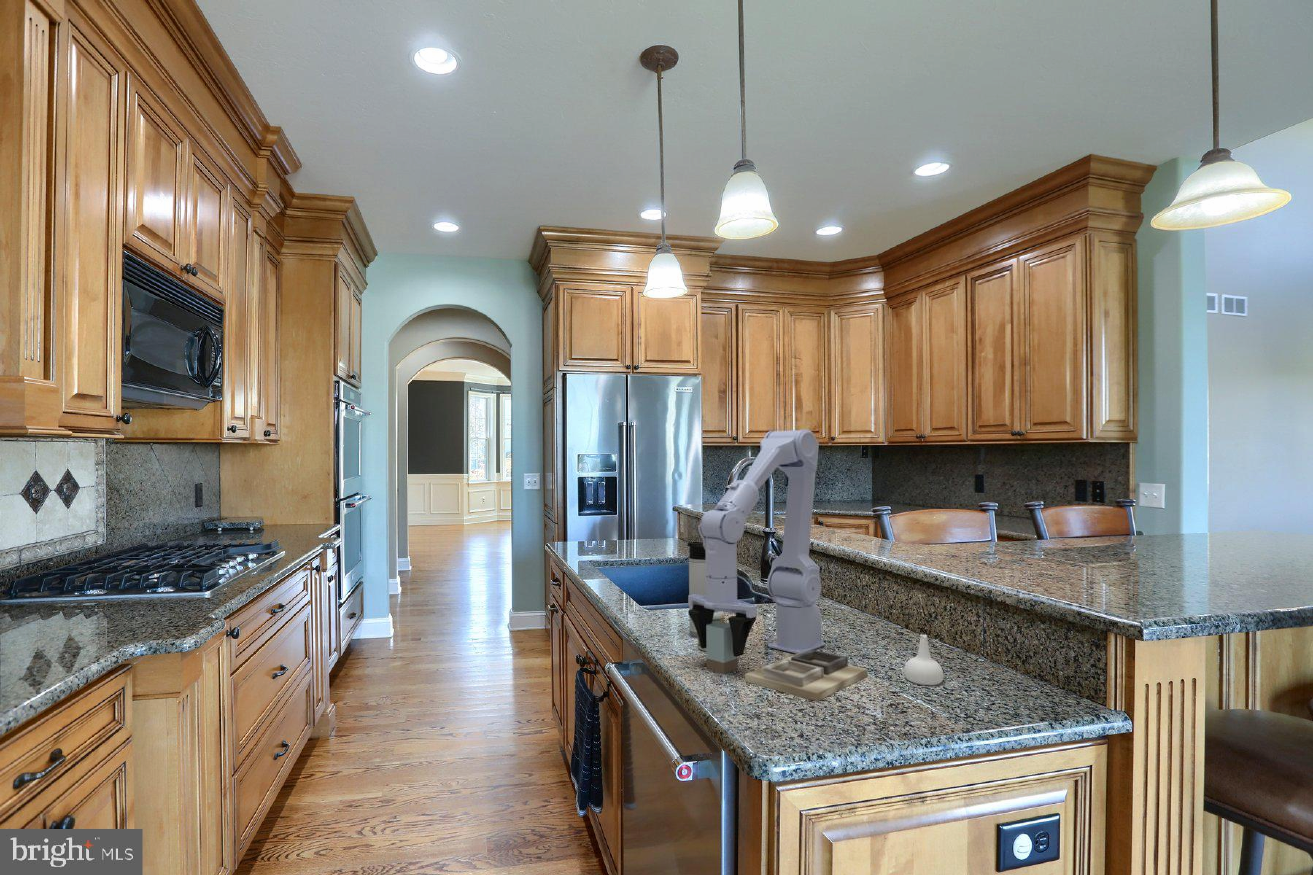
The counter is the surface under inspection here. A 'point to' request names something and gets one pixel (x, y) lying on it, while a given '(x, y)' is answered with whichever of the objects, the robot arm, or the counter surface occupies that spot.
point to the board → (808, 674)
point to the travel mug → (696, 576)
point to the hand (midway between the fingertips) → (721, 651)
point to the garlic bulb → (923, 666)
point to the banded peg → (720, 648)
